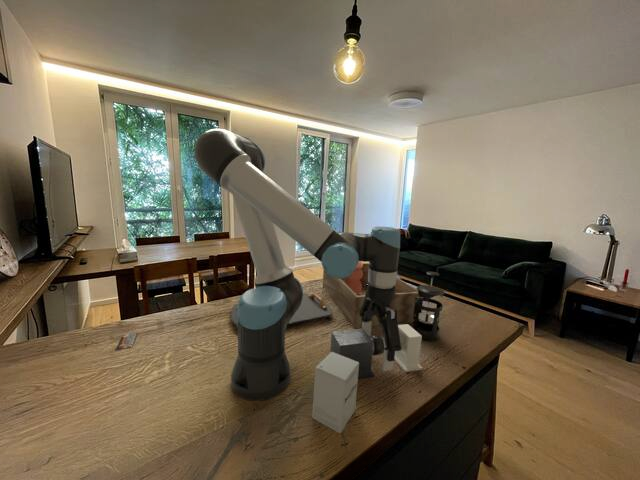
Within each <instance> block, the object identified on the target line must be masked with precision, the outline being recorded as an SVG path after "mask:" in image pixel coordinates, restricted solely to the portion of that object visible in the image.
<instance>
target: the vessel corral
mask: <svg viewBox="0 0 640 480" xmlns="http://www.w3.org/2000/svg"><path fill="white" fill-rule="evenodd" d="M362 263H363V262H362ZM361 270H362V271H363V276H362V278H361V279H360V280H359V281H360V282H361V284H362V285H367V284H368V283H369V282H368V271H369V262H364V263H363V267H362V268H361ZM322 272H323V274H322V288H323V287H324V288H325V290H326V291H327V292H326V291H325V290H324V291H325V292H326V294H327V293H328V294H329V295H328V294H327V295H328V296H329V298H330V297H331V298H332V299H331V298H330V299H331V300H332V302H333V303H334V304H335V306H336V307H337V306H338V307H337V308H338V309H339V311H340V312H341V313H342V315H343V316H344V317H345V318H346V320H347V321H348V323H349V324H350V325H351V327H353V329H360V328H362V322H363V321H362V316H360V315H359V313H360V310H361V308H362V305H363V302H364V300H365V294H362V295H359V294H356V293H355V292H354V291H353V290H352V289H351V288H350V287H349V286H348V285H347V284H346V283H345V282H344V281H343V280H344V279H345V278H343V279H336V278H333V277H331V276H329V275H328V274H327V273H326V272H325V271H324V270H323V271H322ZM395 287H396V291H395V299H394V300H393V301H392V302H391V303H390V308H391V310H397V323H398V325H400V324H408V323H413V321H414V319H413V314H414V306H415V298H416V297H420V296H419V295H418V290H417V287H416V288H415V286H414V287H413V286H412V285H410V284H409V283H407V282H405V281H404V280H403V279H400V278H399V277H397V278H396V285H395ZM324 288H323V289H324ZM421 298H422V297H421ZM382 319H386V318H382ZM369 321H371V322H372V324H371V327H377V326H378V327H379V326H381V323H379V322H378V318H377V316H376V315H374V316H373V317H372V320H369Z"/></svg>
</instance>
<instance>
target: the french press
mask: <svg viewBox="0 0 640 480" xmlns="http://www.w3.org/2000/svg"><path fill="white" fill-rule="evenodd" d="M426 274H427V275H429V276H430V285H428V284H420V285H418V286H417V287H416V289H417V290H418V295H419V296H420V297H416V298H415V306H414V314H413V319H414V321H413V322H412V326H411V327H412V328H413V329H414V330H415V331H417V332H418V333H419V334H420V335H421V336H422V340H421V341H425V342H435V341H438V340H439V338H440V327H439V323H440V322H441V319H440V314H441V312H442V310H443V307H444V305H443V303H442V302H440V301H439V300H436V299H433V298H434V297H436V296H438V297H439V296H440V297H441V298H443V296H444V295H445V290H444V289H442V288H440V287H437V286H433V279H434V277H439V276H440V273H439V272H435V271H426ZM421 297H422V298H421ZM423 302H426V303H427V306H424V305H423ZM430 303H431V304H435V305H436V308H435V307H430ZM423 311H425V312H423ZM429 312H430V313H429ZM432 313H434V314H432ZM427 330H428V331H427Z"/></svg>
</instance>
